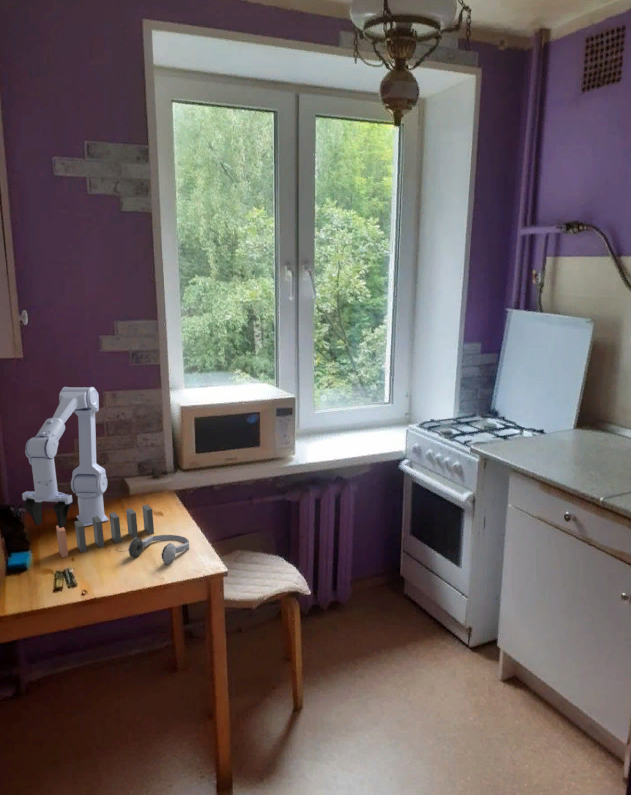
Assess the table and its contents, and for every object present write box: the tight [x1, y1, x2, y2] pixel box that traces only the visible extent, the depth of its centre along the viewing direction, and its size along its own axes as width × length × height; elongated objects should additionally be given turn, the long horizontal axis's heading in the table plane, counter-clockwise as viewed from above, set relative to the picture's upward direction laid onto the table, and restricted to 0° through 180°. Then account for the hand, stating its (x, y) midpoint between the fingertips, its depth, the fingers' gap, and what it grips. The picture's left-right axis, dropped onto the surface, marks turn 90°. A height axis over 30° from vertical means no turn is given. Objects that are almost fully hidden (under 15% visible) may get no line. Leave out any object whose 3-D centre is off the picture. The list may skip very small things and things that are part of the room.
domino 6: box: [141, 504, 155, 535], centre depth 186 cm, size 4×2×8 cm, turn 34°
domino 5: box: [125, 507, 139, 539], centre depth 183 cm, size 4×2×8 cm, turn 34°
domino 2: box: [74, 520, 88, 553], centre depth 175 cm, size 4×2×8 cm, turn 34°
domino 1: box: [55, 525, 69, 559], centre depth 173 cm, size 4×2×8 cm, turn 34°
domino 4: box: [109, 511, 122, 544], centre depth 181 cm, size 4×2×8 cm, turn 34°
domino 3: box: [92, 516, 105, 549], centre depth 178 cm, size 4×2×8 cm, turn 34°
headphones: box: [107, 534, 190, 565], centre depth 172 cm, size 17×6×20 cm
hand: (50, 525), depth 170 cm, fingers open, 7 cm apart
